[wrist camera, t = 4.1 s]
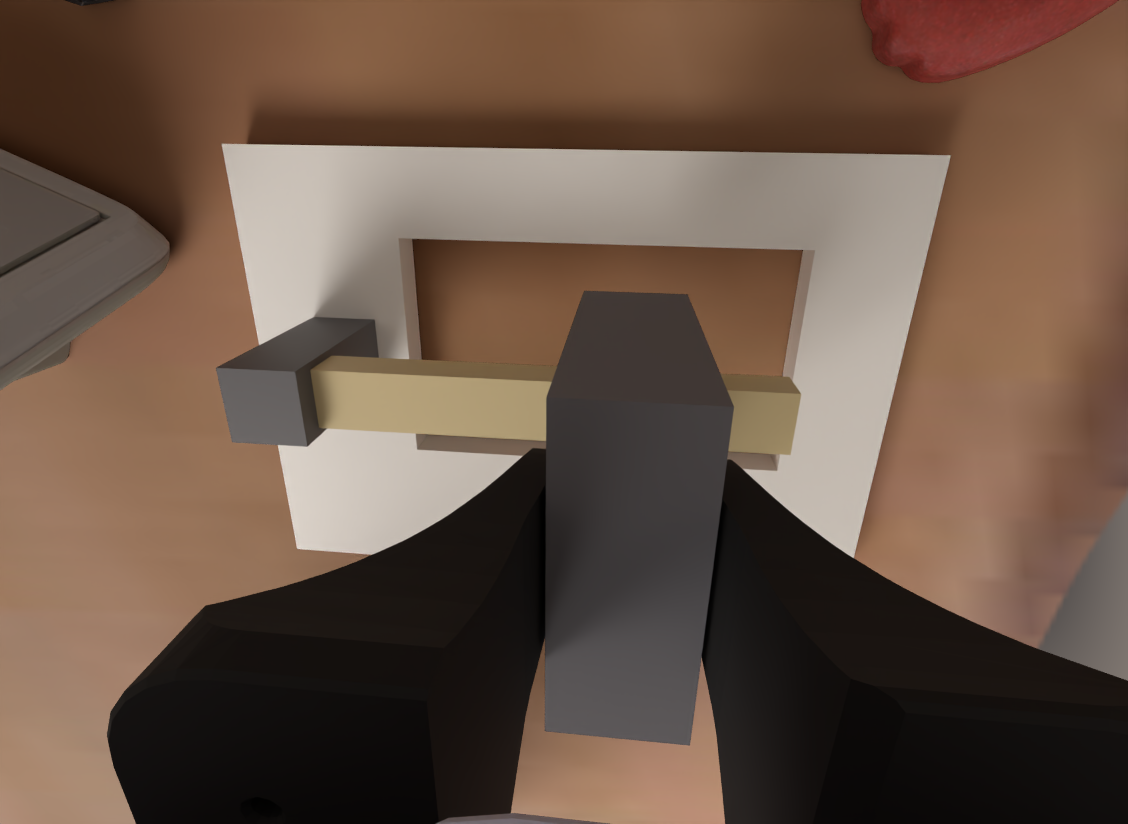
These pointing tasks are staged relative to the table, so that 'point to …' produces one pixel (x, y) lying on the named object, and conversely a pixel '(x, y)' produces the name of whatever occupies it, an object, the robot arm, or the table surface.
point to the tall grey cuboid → (631, 516)
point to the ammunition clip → (87, 1)
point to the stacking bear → (967, 32)
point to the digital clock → (63, 263)
